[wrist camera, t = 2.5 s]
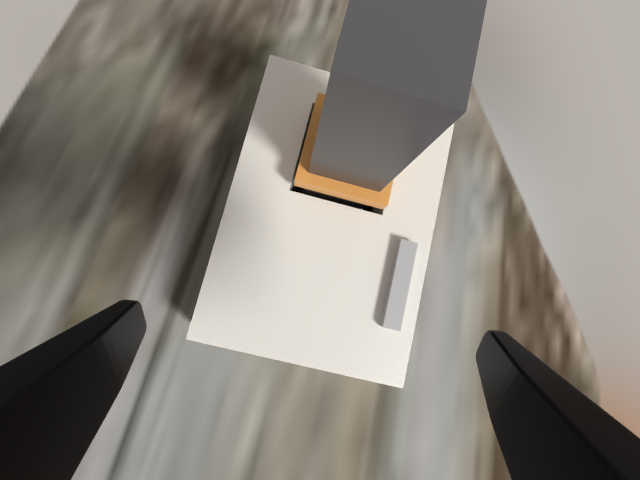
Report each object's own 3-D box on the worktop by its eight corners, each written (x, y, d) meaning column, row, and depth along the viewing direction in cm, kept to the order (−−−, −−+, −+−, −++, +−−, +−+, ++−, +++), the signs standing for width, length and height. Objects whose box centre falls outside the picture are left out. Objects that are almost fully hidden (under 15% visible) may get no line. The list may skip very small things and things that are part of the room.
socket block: (386, 373, 21) (406, 392, 17) (200, 330, 20) (182, 341, 16) (435, 131, 23) (461, 105, 20) (271, 84, 22) (269, 47, 19)
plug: (367, 220, 22) (482, 136, 9) (292, 200, 22) (304, 84, 9) (383, 149, 23) (509, -19, 10) (311, 129, 22) (346, -73, 10)
